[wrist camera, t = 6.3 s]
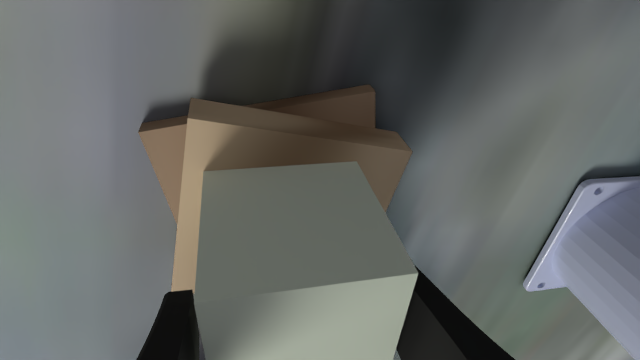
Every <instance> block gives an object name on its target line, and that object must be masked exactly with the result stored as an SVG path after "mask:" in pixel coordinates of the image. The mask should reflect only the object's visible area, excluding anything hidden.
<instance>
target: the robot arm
mask: <svg viewBox="0 0 640 360" xmlns="http://www.w3.org/2000/svg"><path fill="white" fill-rule="evenodd" d="M415 268H416V270H417V271H418V276H417V280H416V283H415V286H414V290H413V293H412V297H411V300H410V303H409V307H408V310H407V313H406V317H405V320H404V324H403V327H402V330H401V334H400V337H399V340H398V344H397V347H396V349H397V351H398V353H399V356H400V358H401V360H515V359H514V358H513V357H511V356H510V355H509V354H508V353H507V352H505V351H504V350H503V349H502V348H501V347H500V346H498V345H497V344H496V343H495V342H494V341H493V340H492V339H490V338H489V337H488V336H487V335H486V334H485V333H484V332H483V331H481V330H480V329H479V328H478V327H477V326H476V325H475V324H474V323H473V322H472V321H471V320H470V319H469V318H468V317H467V316H465V315H464V314H463V313H462V312H461V311H460V310H459V309H458V308H457V307H456V306H455V305H454V304H453V303H452V302H451V301H450V300H449V299H448V298H447V297H446V296H445V295H444V294H443V293H442V292H441V291H440V290H439V289H438V288H437V287H436V286H435V285H434V284H433V283H432V282H431V281H430V280H429V279H428V278H427V277H426V276H425V275H424V274H423V273H422V272H421V271H420V270H419V269H418V268H417V267H416V266H415ZM523 287H524V288H525V289H526V290H527V291H537V290H545V289H553V288H560V287H568V288H569V290H570V291H571V292H572V293H573V294H574V295H575V296H576V297H577V298H578V299H579V300H580V301H581V302H582V303H583V304H584V306H585V307H586V308H587V309H588V310H589V311H590V312H591V313H592V314H593V315H594V316H595V317H596V318H597V319H598V321H599V322H600V323H601V324H602V325H603V326H604V327H605V328H606V329H607V330H608V331H609V332H610V333H611V334H612V336H613V337H614V338H615V339H616V340H617V341H618V342H619V343H620V344H621V345H622V346H623V347H624V348H625V349H626V350H627V352H628V353H629V354H630V355H631V356H632V357H633V358H634V359H635V360H640V176H636V177H619V178H601V179H589V180H585V181H583V182H582V183H581V184H579V186H578V187H577V189H576V191H575V192H574V194H573V196H572V198H571V199H570V201H569V203H568V205H567V206H566V208H565V210H564V212H563V214H562V215H561V217H560V219H559V221H558V222H557V224H556V226H555V228H554V229H553V231H552V233H551V235H550V236H549V238H548V240H547V242H546V243H545V245H544V247H543V249H542V251H541V252H540V254H539V256H538V258H537V259H536V261H535V263H534V265H533V266H532V268H531V270H530V272H529V273H528V275H527V277H526V279H525V280H524V282H523ZM137 360H199V330H198V323H197V317H196V311H195V306H194V297H193V290H192V289H191V290H182V291H172V292H168V293H167V294H165V296H164V298H163V301H162V304H161V307H160V309H159V312H158V314H157V317H156V319H155V322H154V324H153V326H152V328H151V331H150V333H149V335H148V337H147V339H146V342H145V344H144V346H143V348H142V350H141V352H140V354H139V356H138V358H137Z"/></svg>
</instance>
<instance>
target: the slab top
mask: <svg viewBox="0 0 640 360" xmlns="http://www.w3.org/2000/svg"><path fill="white" fill-rule="evenodd" d="M411 154H412V150H411V149H410V148H409V147H408V145H407V144H406V143H405V142H404V140H403V139H402V138H401V137H400V136H399V134H398V133H397V132H394V131H388V130H382V129H376V128H370V127H364V126H358V125H352V124H346V123H340V122H334V121H328V120H322V119H316V118H310V117H304V116H298V115H292V114H286V113H280V112H274V111H268V110H262V109H255V108H249V107H243V106H237V105H231V104H225V103H219V102H213V101H207V100H201V99H195V98H191V101H190V107H189V113H188V119H187V129H186V140H185V151H184V161H183V172H182V183H181V193H180V204H179V214H178V225H177V236H176V246H175V257H174V267H173V278H172V289H171V292H172V291H182V290H191V289H192V290H193V293H195V281H196V267H197V253H198V239H199V225H200V211H201V197H202V183H203V171H214V170H230V169H245V168H260V167H276V166H291V165H306V164H321V163H337V162H352V161H357V163H358V164H359V166H360V168H361V170H362V172H363V174H364V175H365V177H366V179H367V181H368V183H369V184H370V186H371V188H372V190H373V192H374V193H375V195H376V197H377V199H378V201H379V203H380V204H381V206H382V208H383V210H384V212H386V210H387V208H388V205H389V203H390V201H391V199H392V196H393V194H394V192H395V190H396V188H397V185H398V183H399V181H400V179H401V176H402V174H403V172H404V170H405V168H406V165H407V163H408V161H409V159H410V156H411Z"/></svg>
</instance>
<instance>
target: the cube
mask: <svg viewBox="0 0 640 360" xmlns="http://www.w3.org/2000/svg"><path fill="white" fill-rule="evenodd" d="M417 276H418V271H417V270H416V268H415V266H414V264H413V262H412V261H411V259H410V257H409V255H408V253H407V251H406V250H405V248H404V246H403V244H402V242H401V241H400V239H399V237H398V235H397V233H396V232H395V230H394V228H393V226H392V224H391V222H390V221H389V219H388V217H387V215H386V213H385V212H384V210H383V208H382V206H381V204H380V203H379V201H378V199H377V197H376V195H375V193H374V192H373V190H372V188H371V186H370V184H369V183H368V181H367V179H366V177H365V175H364V174H363V172H362V170H361V168H360V166H359V164H358V163H357V161H352V162H337V163H321V164H306V165H291V166H276V167H260V168H245V169H230V170H214V171H203V183H202V197H201V211H200V225H199V239H198V253H197V267H196V281H195V295H194V306H195V311H196V316H197V321H198V325H199V330H200V335H201V340H202V345H203V350H204V355H205V359H206V360H393V357H394V354H395V351H396V347H397V344H398V340H399V337H400V334H401V330H402V327H403V324H404V320H405V317H406V313H407V310H408V307H409V303H410V300H411V297H412V293H413V290H414V286H415V283H416V280H417Z"/></svg>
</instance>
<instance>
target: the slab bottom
mask: <svg viewBox="0 0 640 360" xmlns="http://www.w3.org/2000/svg"><path fill="white" fill-rule="evenodd" d="M243 107H249V108H255V109H262V110H268V111H274V112H280V113H286V114H292V115H298V116H304V117H310V118H316V119H322V120H328V121H334V122H340V123H346V124H352V125H358V126H364V127H370V128H375V90H374V89H373V88H372V87H371V86H370V85H363V86H357V87H351V88H345V89H339V90H333V91H327V92H322V93H316V94H310V95H304V96H298V97H292V98H286V99H280V100H275V101H269V102H263V103H257V104H251V105H245V106H243ZM187 119H188V115H186V116H180V117H175V118H169V119H163V120H157V121H151V122H145V123H142V124H141V127H140V130H139V132H138V133H139V135H140V137H141V140H142V142H143V145H144V147H145V149H146V152H147V154H148V156H149V159H150V161H151V163H152V166H153V168H154V171H155V173H156V175H157V178H158V180H159V182H160V185H161V187H162V190H163V192H164V194H165V197H166V199H167V201H168V204H169V206H170V209H171V211H172V213H173V216H174V218H175V220H176V223H177V225H178V214H179V204H180V193H181V183H182V172H183V161H184V151H185V140H186V129H187Z"/></svg>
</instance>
